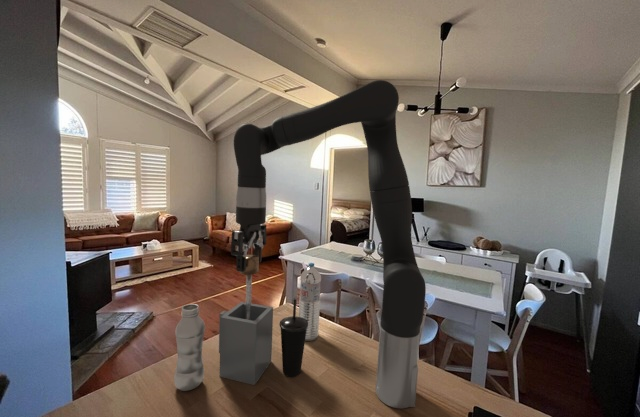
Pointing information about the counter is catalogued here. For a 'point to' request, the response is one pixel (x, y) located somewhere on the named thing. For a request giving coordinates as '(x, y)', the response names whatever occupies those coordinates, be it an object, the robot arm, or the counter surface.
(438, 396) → the counter surface
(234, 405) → the counter surface
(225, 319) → the box
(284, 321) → the drinking cup
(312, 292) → the water bottle
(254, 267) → the plunger
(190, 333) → the plastic bottle
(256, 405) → the counter surface
